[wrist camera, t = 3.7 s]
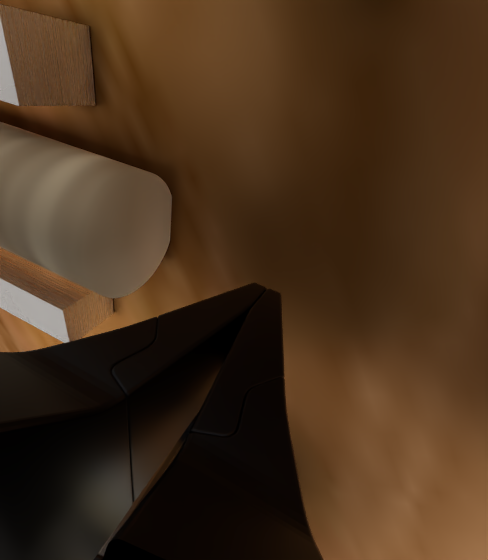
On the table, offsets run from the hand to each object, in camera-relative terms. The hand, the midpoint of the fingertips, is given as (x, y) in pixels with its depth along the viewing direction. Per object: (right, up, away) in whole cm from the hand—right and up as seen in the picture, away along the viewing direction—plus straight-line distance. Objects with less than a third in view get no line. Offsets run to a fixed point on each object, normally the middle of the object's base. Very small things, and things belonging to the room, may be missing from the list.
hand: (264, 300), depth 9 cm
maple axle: (-9, +5, +4) cm, 10 cm away
